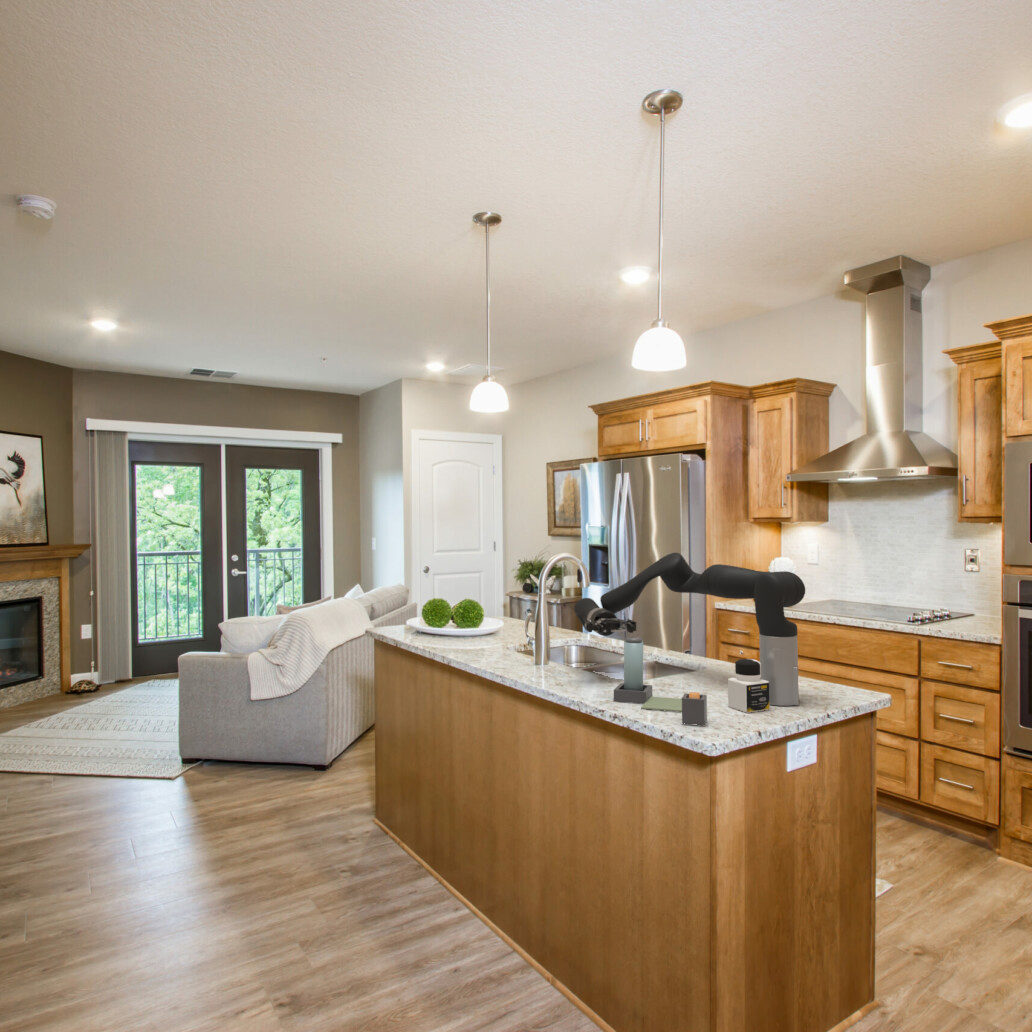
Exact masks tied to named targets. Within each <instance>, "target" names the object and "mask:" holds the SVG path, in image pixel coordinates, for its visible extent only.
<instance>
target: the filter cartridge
mask: <svg viewBox="0 0 1032 1032" xmlns="http://www.w3.org/2000/svg"><path fill="white" fill-rule="evenodd" d="M623 683H624V690H634V691H643V685H644V641H643V638H642V637H641V636H626V637H625V639H624V642H623Z"/></svg>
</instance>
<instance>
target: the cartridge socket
mask: <svg viewBox="0 0 1032 1032" xmlns="http://www.w3.org/2000/svg"><path fill="white" fill-rule="evenodd" d="M650 697H653V684H643V691H634V690H624V682H620V683H619V684H618V685H617V686H616V687H615V688H614V689H613V702H614V701H619V702H618V703H626V702H633V703H632V704H640V703H645V702H647V701H648V700H649V698H650Z"/></svg>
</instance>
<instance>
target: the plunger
mask: <svg viewBox="0 0 1032 1032" xmlns="http://www.w3.org/2000/svg"><path fill="white" fill-rule="evenodd" d="M688 694H689V698H697V699H700V692H695V691H693V692H692V691H691V692H688Z"/></svg>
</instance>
